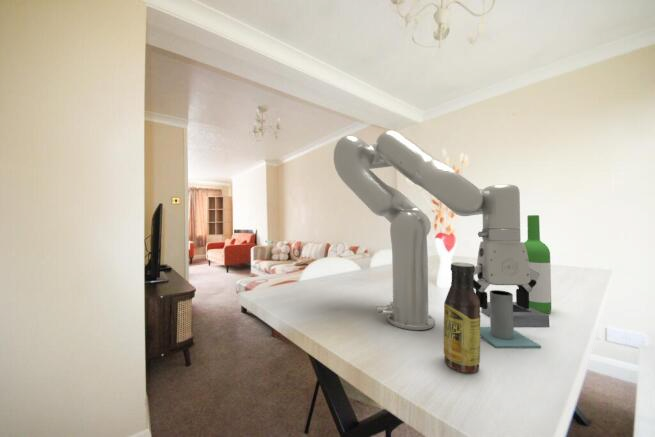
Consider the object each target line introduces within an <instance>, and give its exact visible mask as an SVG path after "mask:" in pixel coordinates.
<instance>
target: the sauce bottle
mask: <svg viewBox="0 0 655 437" xmlns="http://www.w3.org/2000/svg"><path fill="white" fill-rule="evenodd" d="M475 267H476V266H475V265H474V264H473V263H468V262H460V261H459V262H458V261H457V262H452V263H451V264H450V271H451V283H450V284H451V285H450V287H449V290H448V292H447V294H446V298H445V299H444V303H443V304H444V305H443V307H444V308H443V309H444V311H443V354H444V361H445V363H446V365H447V366H448V367H450V368H451V369H453V370H455V371H457V372H459V373H467V374H469V373H475V372H478V370H480V363H481V362H480V361H481V337H480V327H481V310H480V309H481V307H480V300H479V298H478V297H477V295H476V291H475V289H474V285H473V273H474V272H475Z"/></svg>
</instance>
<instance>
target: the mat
mask: <svg viewBox="0 0 655 437" xmlns="http://www.w3.org/2000/svg"><path fill="white" fill-rule="evenodd" d="M480 338H481V339H483V340H484V341H486V342H487V343H489V345H490V346H493V348H495V349H542V345H540V343H537V342H535V341H533V340H532V339H530V338H529V337H527V336H525V335H523V334H522V333H520V332H518V331H516V330H515V329H513V339H509V340H507V339H501V338H497V337H495V336H493V335H492V334H491V328H490V326H480Z"/></svg>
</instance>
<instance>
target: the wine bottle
mask: <svg viewBox="0 0 655 437" xmlns="http://www.w3.org/2000/svg"><path fill="white" fill-rule="evenodd" d="M540 228H541V227H540V215H538V214H535V215H534V214H532V215H527V240H526V241H524V244H525V247H526V250H527V254H528V260H529V268H531V269H533V270H535V271H537V272H539V273H540V276H539V278H538V280H537V281H536V285H535V286H534V287H533V288H532V291H531V292H529V307H530V308H533V309H535V310H537V311H540V312H542V313H545V314H547V315H548V314H550V313H551V312H552V274H551V271H552V269H551V252H550V249H549V247H548V245H546V244H545V243H544V242H542V241H541V236H540V234H541V232H540Z"/></svg>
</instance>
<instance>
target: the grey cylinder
mask: <svg viewBox="0 0 655 437" xmlns="http://www.w3.org/2000/svg"><path fill="white" fill-rule="evenodd" d="M513 298H514V296H513V293H511V292H510V291H507V290H506V291H504V290H501V289H500V290H499V289H498V290H497V289H492V290H490V291H489V302H490V317H489V318H490V323H489V324H490V325H489V327H490V328H491V334H492V335H493V336H495V337H497V338H501V339H507V340H509V339H513V330H514V327H513V302H514V299H513Z"/></svg>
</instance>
